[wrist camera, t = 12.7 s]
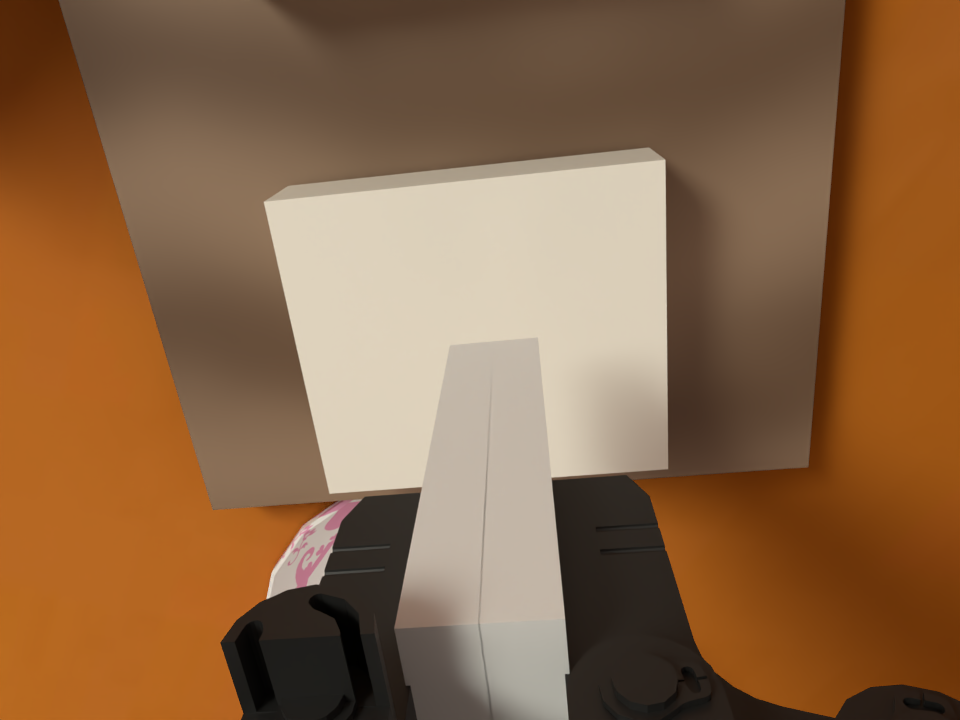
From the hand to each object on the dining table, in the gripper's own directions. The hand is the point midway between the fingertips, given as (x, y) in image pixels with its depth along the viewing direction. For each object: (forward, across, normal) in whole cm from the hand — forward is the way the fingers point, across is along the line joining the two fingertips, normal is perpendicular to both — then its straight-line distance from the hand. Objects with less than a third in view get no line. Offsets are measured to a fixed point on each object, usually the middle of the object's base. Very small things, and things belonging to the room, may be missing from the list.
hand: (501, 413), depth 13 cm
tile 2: (+4, +4, 0) cm, 5 cm away
